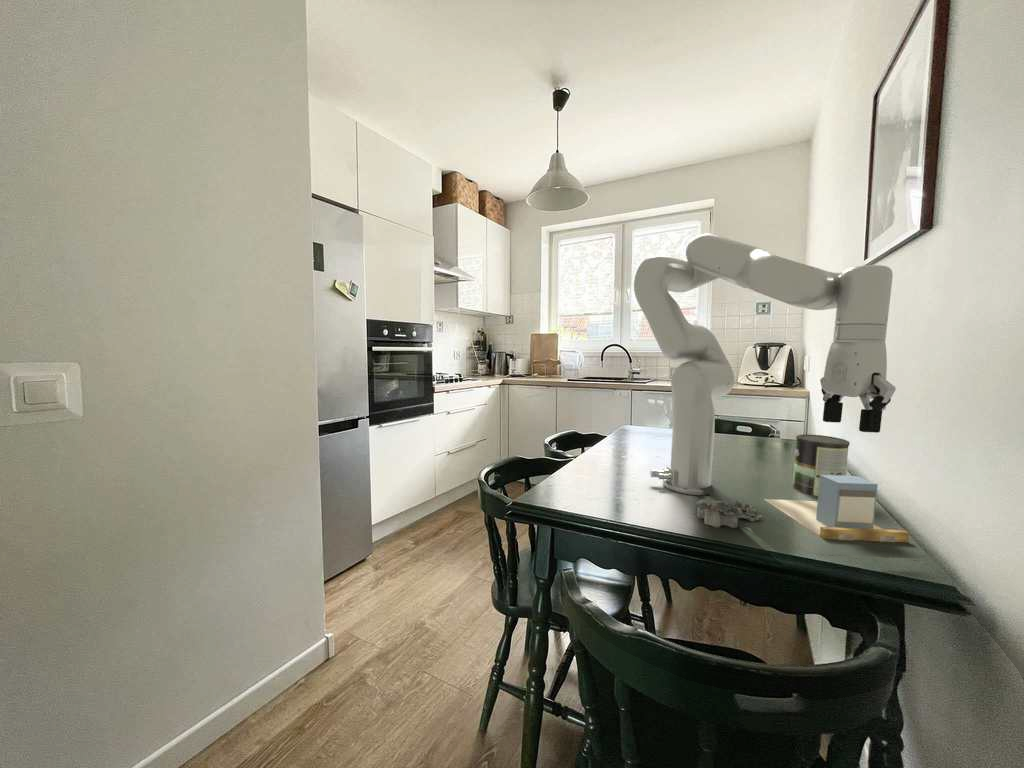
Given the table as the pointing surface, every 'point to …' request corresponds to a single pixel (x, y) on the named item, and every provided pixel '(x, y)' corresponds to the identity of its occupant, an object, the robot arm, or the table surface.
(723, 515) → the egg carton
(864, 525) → the carton
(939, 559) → the table surface
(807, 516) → the shelf
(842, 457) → the coffee can
